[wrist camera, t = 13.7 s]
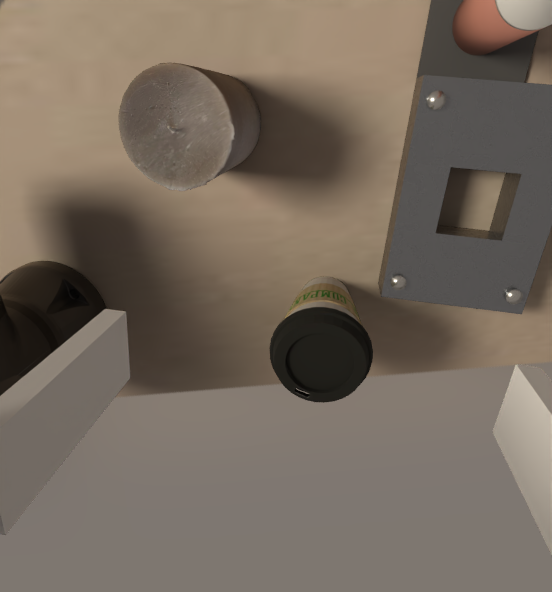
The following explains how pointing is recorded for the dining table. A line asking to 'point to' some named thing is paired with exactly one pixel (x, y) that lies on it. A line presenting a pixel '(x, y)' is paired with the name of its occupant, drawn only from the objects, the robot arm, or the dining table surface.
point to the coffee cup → (321, 343)
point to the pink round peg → (497, 23)
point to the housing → (480, 156)
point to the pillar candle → (187, 124)
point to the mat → (456, 63)
